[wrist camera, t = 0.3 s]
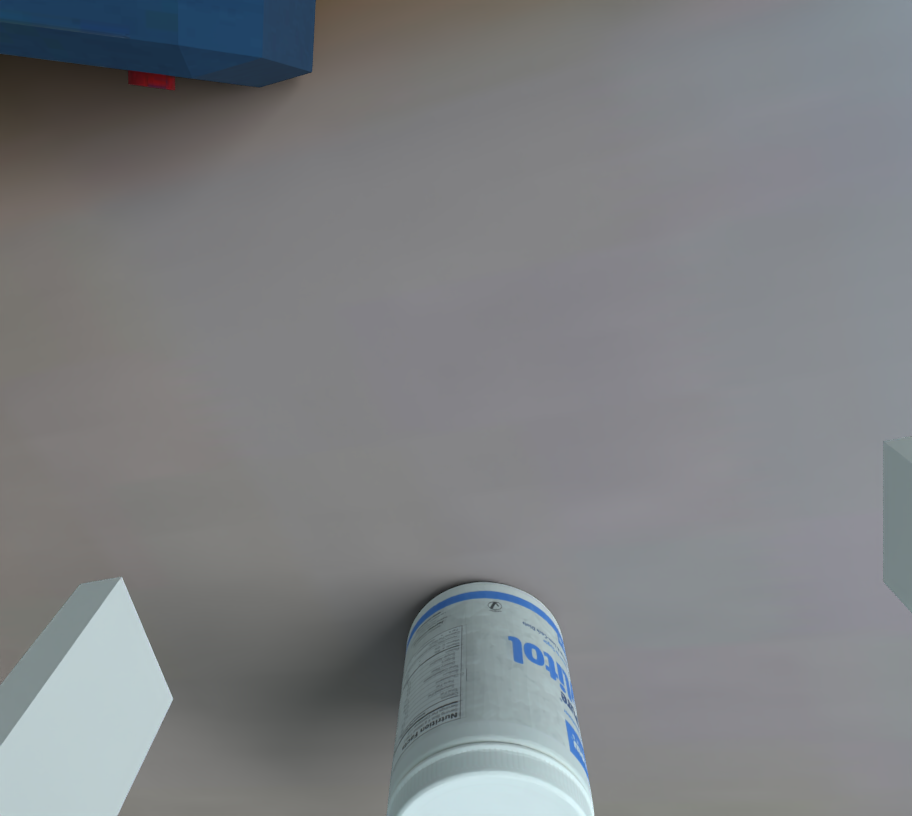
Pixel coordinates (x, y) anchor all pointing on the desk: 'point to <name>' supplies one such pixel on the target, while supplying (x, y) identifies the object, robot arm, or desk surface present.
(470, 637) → the supplement tub
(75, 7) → the radio
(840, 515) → the desk surface
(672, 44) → the desk surface
